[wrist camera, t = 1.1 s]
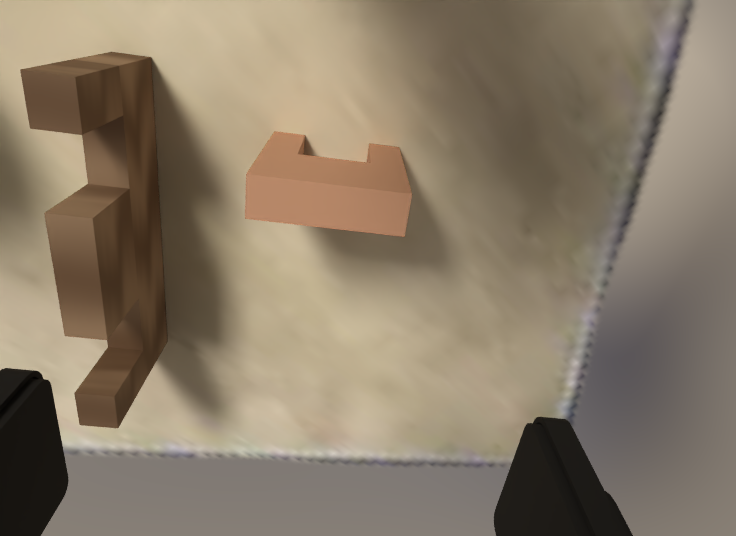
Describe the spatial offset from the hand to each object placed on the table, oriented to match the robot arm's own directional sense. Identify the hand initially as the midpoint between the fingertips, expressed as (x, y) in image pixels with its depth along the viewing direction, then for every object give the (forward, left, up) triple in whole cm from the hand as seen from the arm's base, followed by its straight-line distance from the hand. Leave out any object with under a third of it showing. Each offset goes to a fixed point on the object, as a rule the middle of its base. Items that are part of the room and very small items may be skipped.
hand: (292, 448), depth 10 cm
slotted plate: (0, 0, -21) cm, 21 cm away
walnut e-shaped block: (+5, -11, -21) cm, 24 cm away
